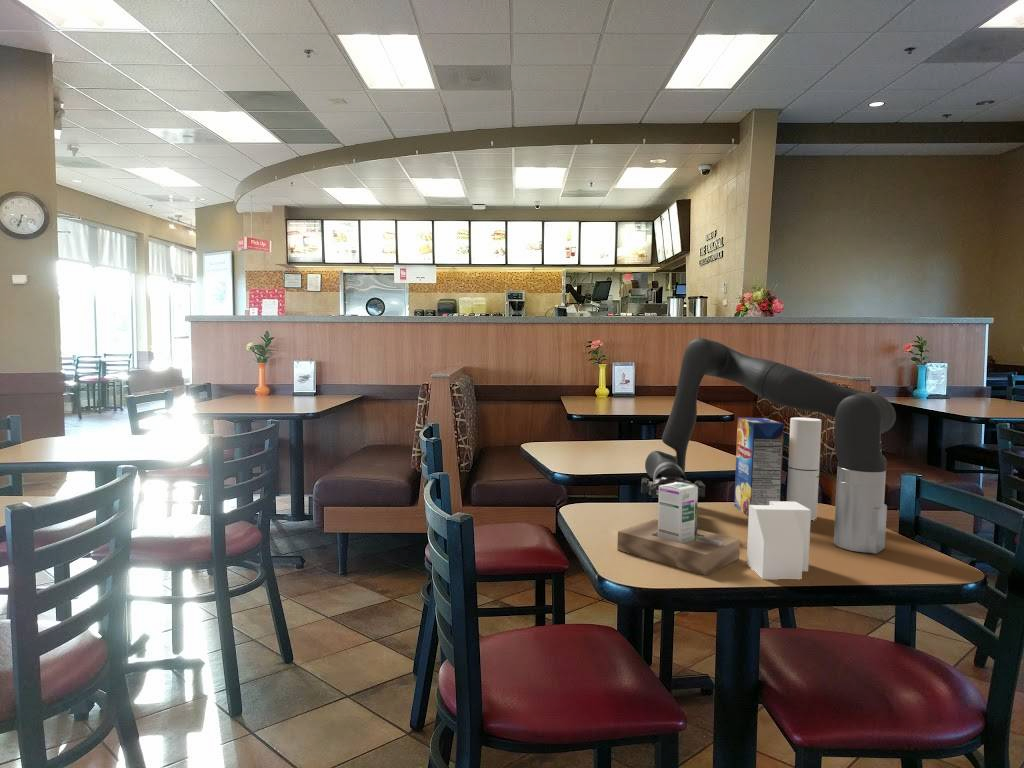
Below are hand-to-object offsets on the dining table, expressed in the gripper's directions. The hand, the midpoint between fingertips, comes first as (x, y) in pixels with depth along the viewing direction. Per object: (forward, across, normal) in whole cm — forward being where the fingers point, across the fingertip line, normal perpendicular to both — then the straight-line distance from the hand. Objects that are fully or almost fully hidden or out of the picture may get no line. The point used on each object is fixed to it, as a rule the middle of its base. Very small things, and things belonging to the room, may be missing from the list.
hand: (674, 494), depth 144 cm
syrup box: (+11, 0, +10) cm, 15 cm away
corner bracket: (+16, +19, +10) cm, 27 cm away
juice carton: (-29, +23, +10) cm, 38 cm away
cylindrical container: (-26, +34, +10) cm, 44 cm away
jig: (+11, 0, +10) cm, 15 cm away
